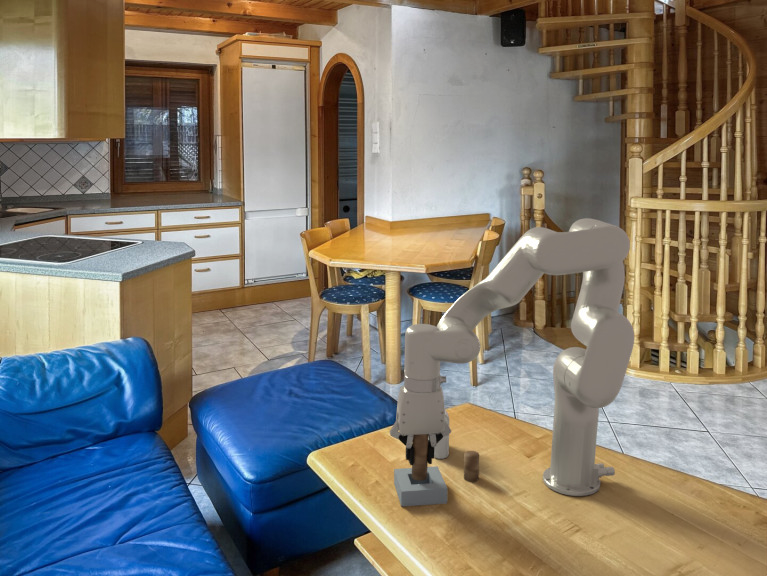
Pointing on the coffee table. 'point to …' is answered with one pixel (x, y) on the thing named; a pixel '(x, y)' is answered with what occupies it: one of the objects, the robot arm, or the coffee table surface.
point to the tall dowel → (420, 457)
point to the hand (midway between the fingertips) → (419, 461)
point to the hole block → (420, 487)
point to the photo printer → (442, 443)
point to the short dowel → (471, 466)
